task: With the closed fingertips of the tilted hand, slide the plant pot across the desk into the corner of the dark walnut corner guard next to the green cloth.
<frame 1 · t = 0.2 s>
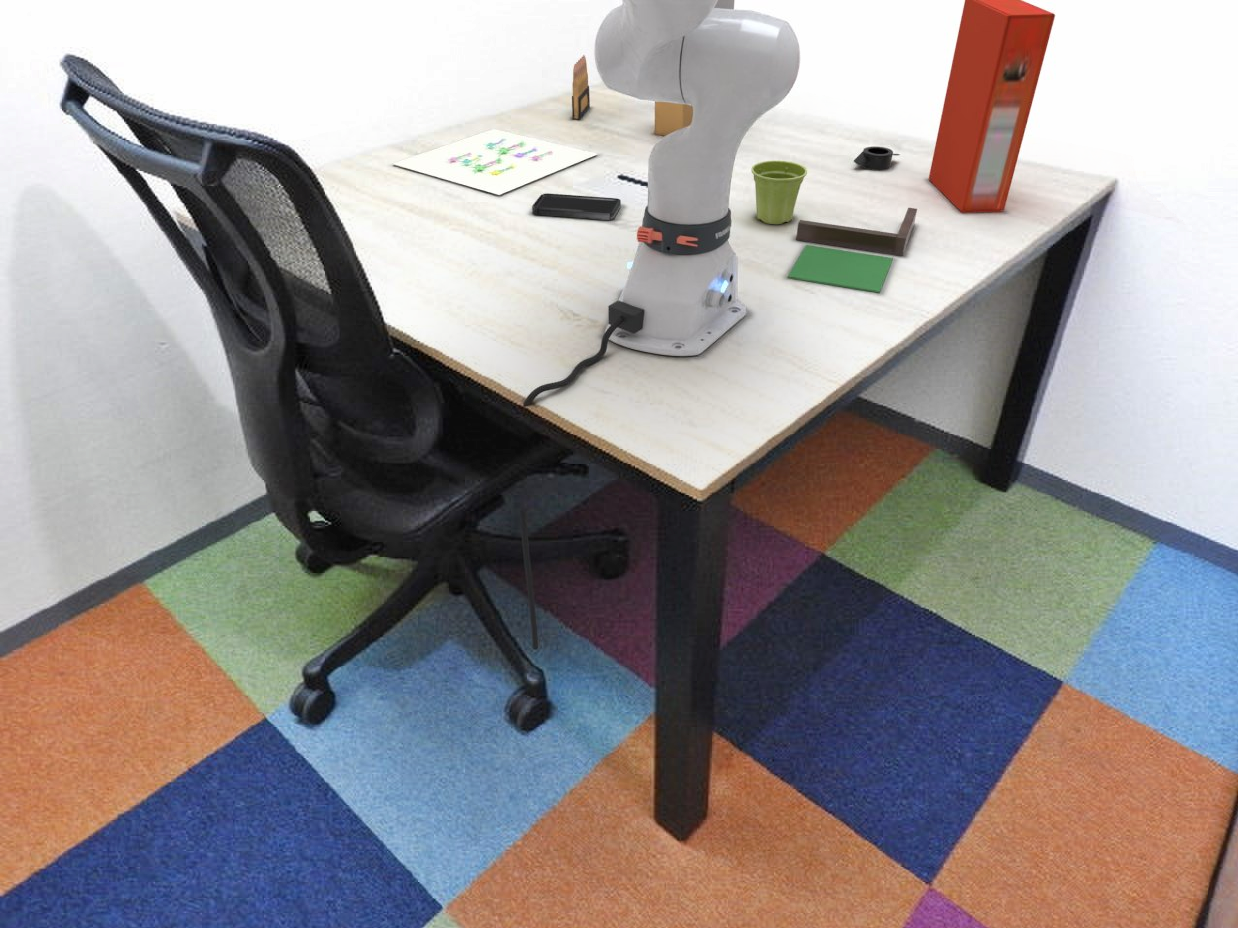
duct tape: (875, 166, 176), on the table
plant pot: (773, 219, 153), on the table
file binder: (963, 196, 162), on the table
ammunition clip: (581, 114, 206), on the table
phone: (576, 210, 157), on the table
printed paper: (496, 161, 179), on the table
green cloth: (841, 268, 137), on the table
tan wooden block: (674, 134, 193), on the table
corner guard: (894, 251, 142), on the table
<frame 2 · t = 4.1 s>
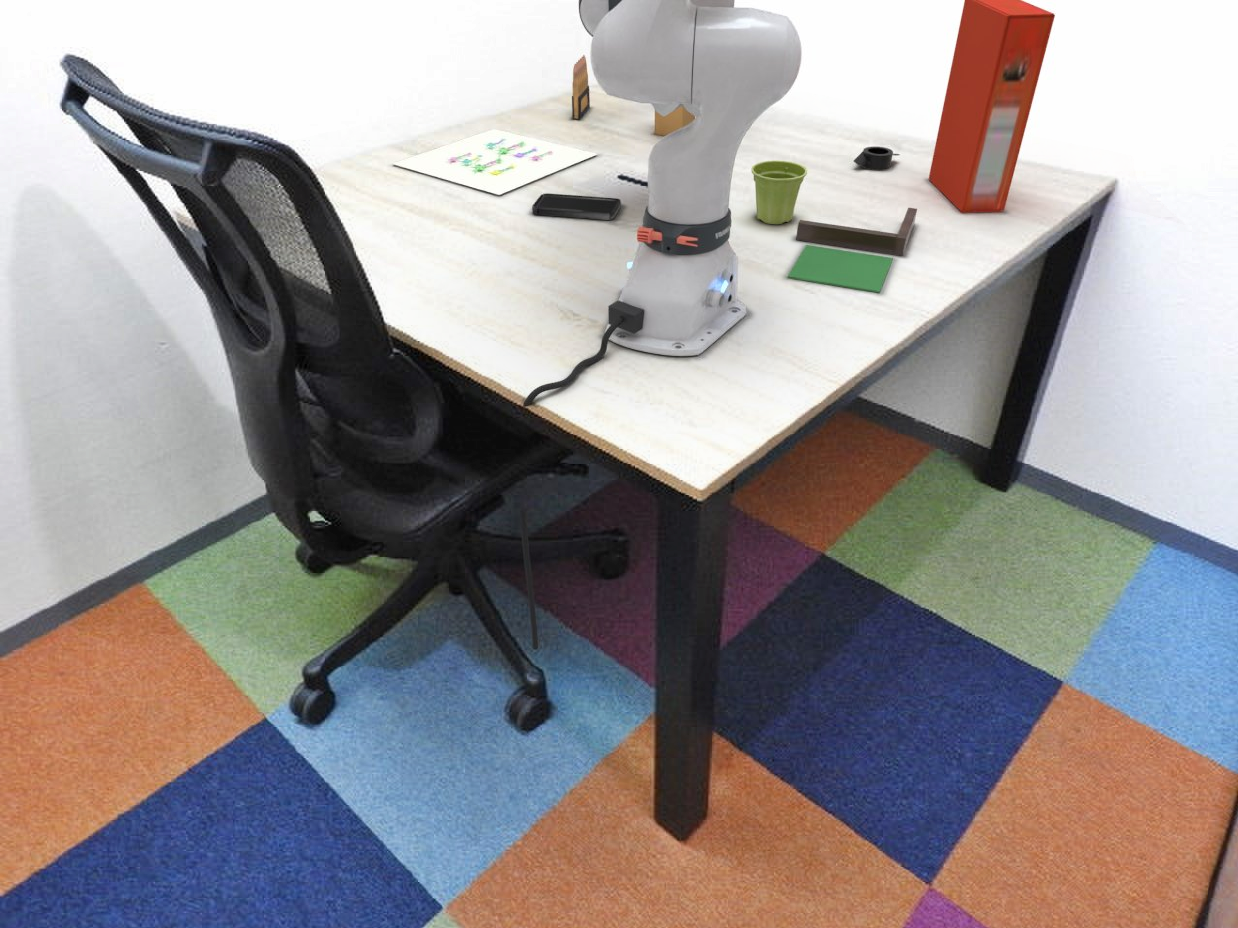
hand: (709, 120, 149), 15 cm above the table, tool tilted 45°, fingers closed
nothing on the table moved.
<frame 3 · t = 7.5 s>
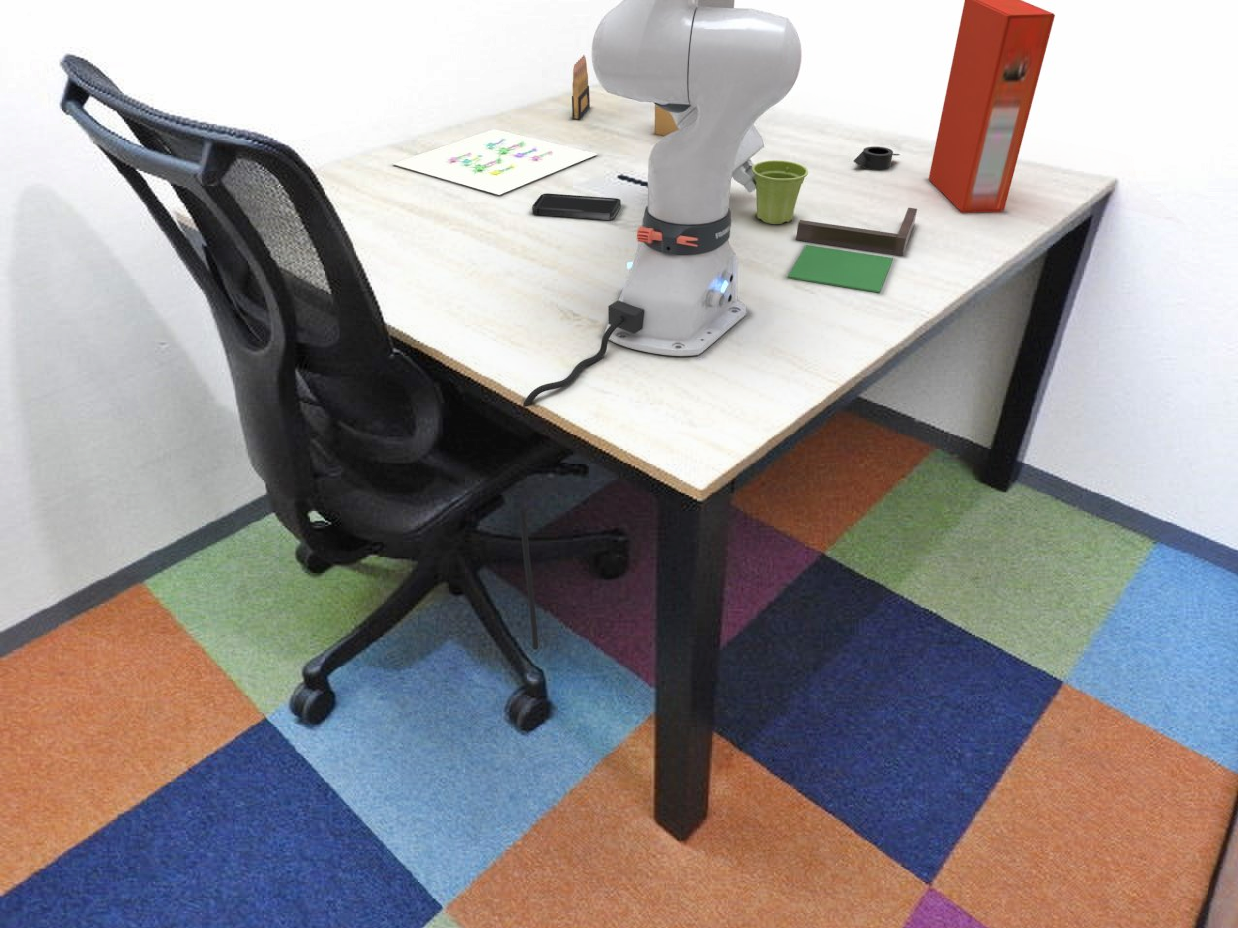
hand: (756, 188, 152), 5 cm above the table, tool tilted 45°, fingers closed, pressing on plant pot
plant pot: (773, 219, 153), on the table, touching gripper
everything else where it was.
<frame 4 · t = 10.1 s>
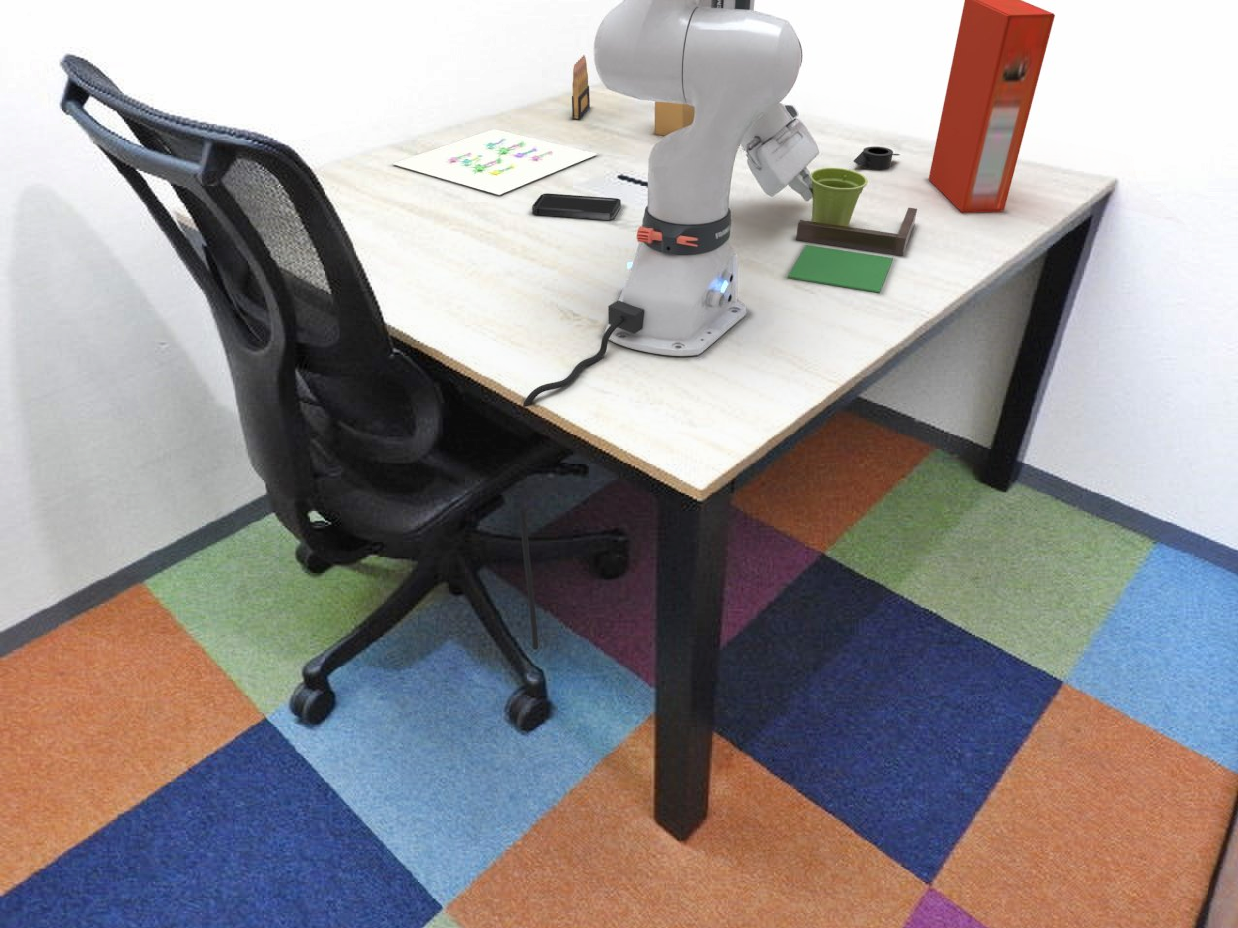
hand: (812, 197, 148), 5 cm above the table, tool tilted 45°, fingers closed, pressing on plant pot
plant pot: (829, 228, 150), on the table, touching gripper
everything else where it was.
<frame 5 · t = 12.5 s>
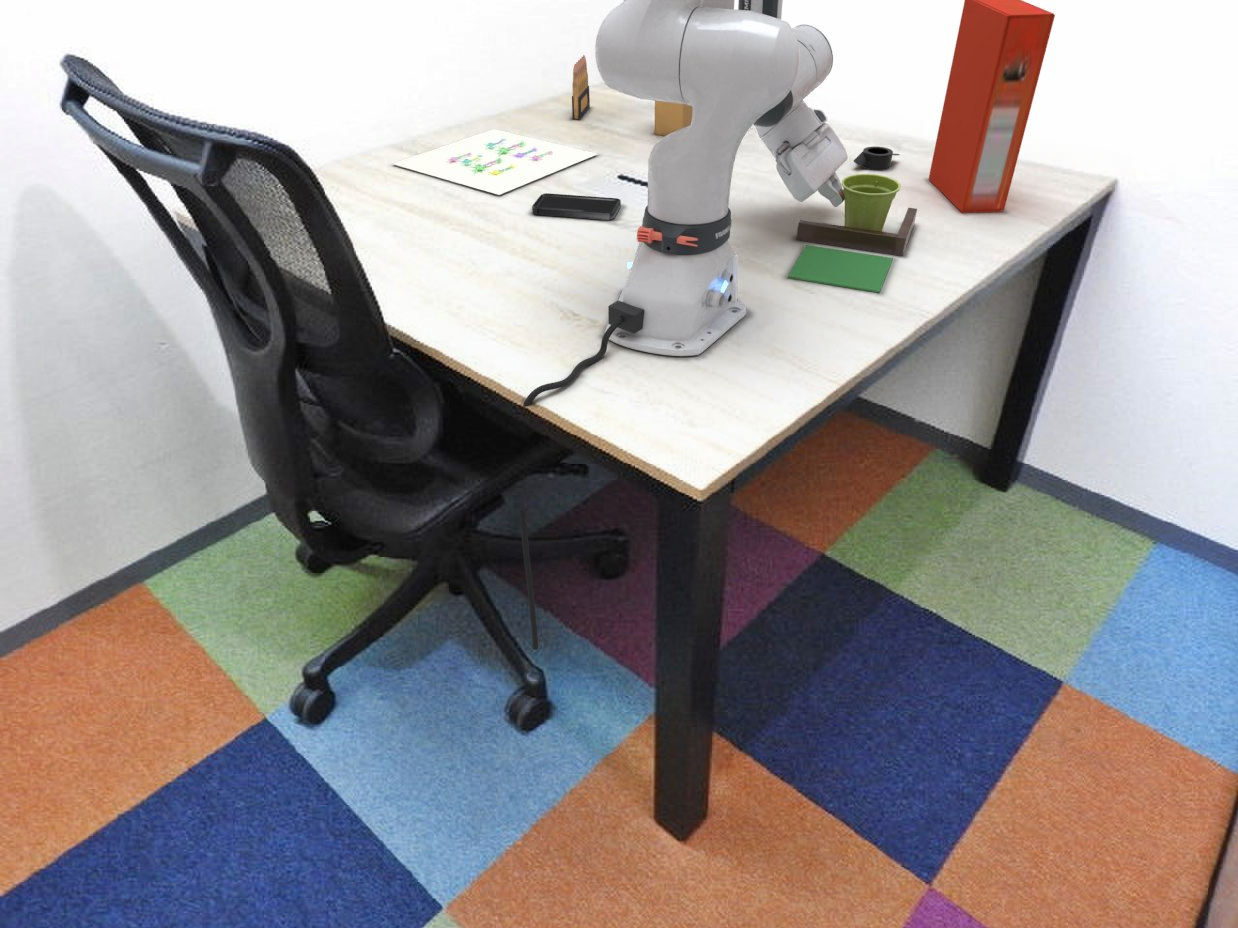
hand: (841, 202, 146), 5 cm above the table, tool tilted 45°, fingers closed
plant pot: (862, 235, 148), on the table
everything else where it was.
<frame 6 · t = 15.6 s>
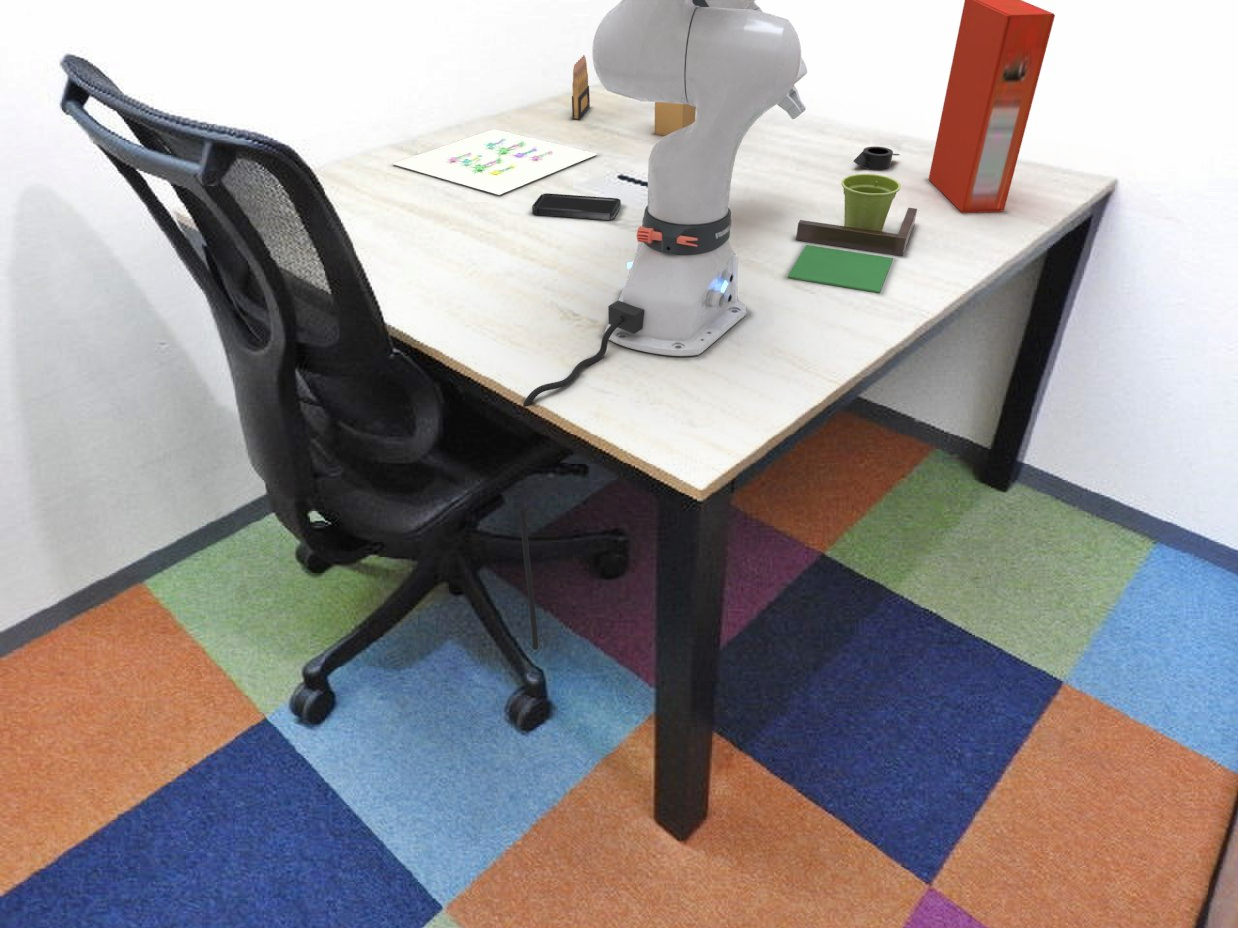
hand: (799, 114, 141), 18 cm above the table, tool tilted 45°, fingers closed
nothing on the table moved.
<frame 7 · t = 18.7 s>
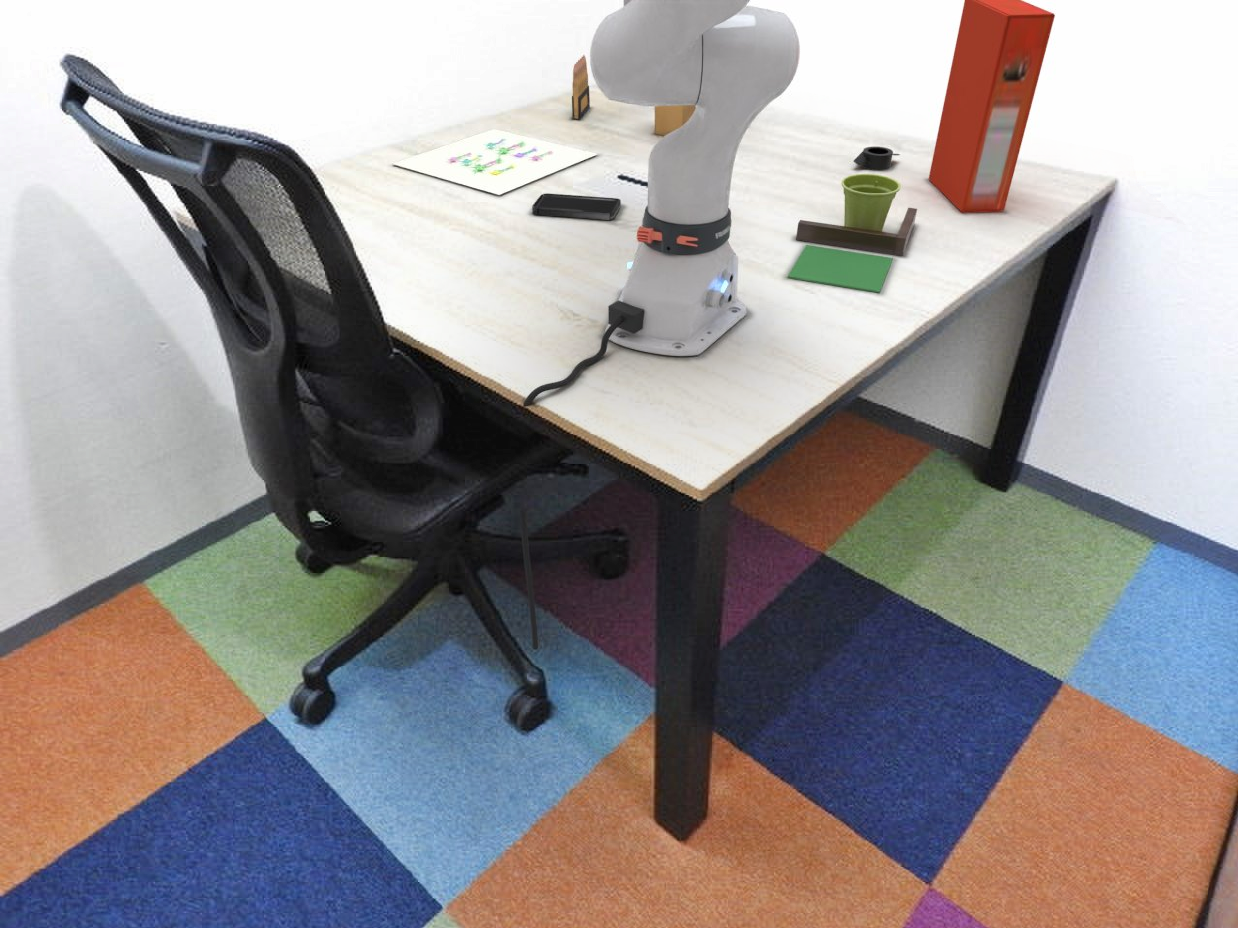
hand: (670, 19, 135), 32 cm above the table, tool pointing down, fingers closed
nothing on the table moved.
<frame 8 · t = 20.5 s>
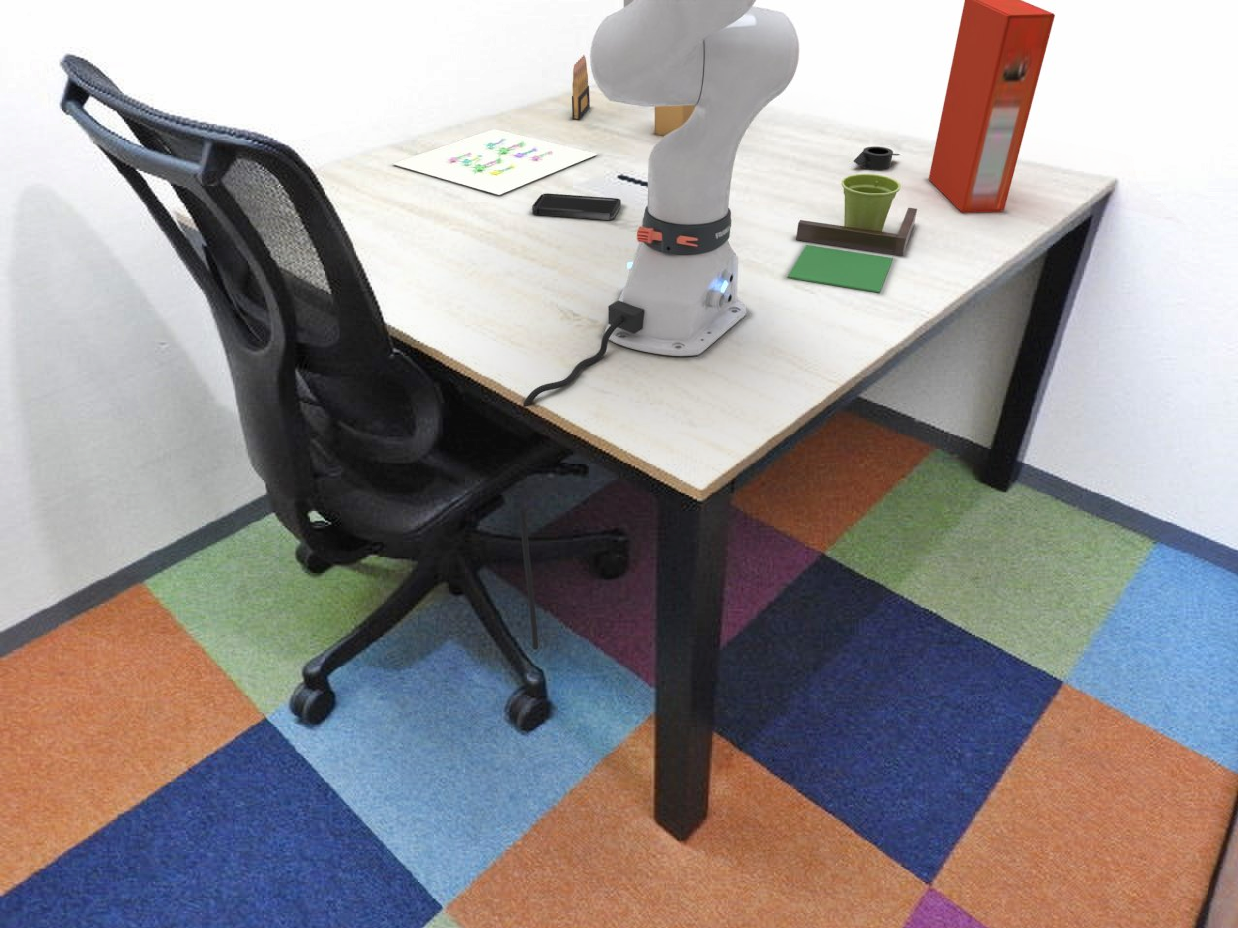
hand: (657, 9, 134), 33 cm above the table, tool pointing down, fingers closed
nothing on the table moved.
at the end: plant pot 1.3 cm from the target spot on the corner guard, point 0.0 cm above the corner guard's base; plant pot tilted 0°; plant pot moved 15.7 cm from its start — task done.
